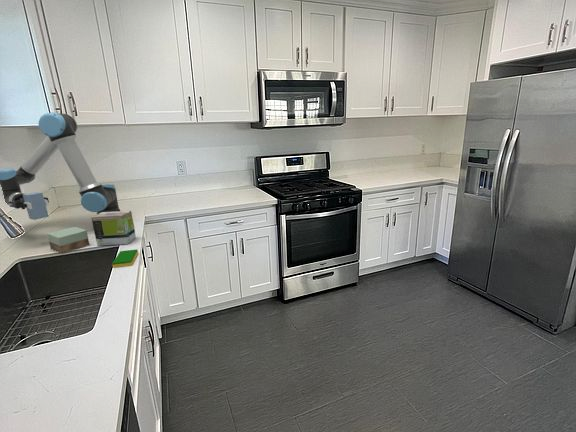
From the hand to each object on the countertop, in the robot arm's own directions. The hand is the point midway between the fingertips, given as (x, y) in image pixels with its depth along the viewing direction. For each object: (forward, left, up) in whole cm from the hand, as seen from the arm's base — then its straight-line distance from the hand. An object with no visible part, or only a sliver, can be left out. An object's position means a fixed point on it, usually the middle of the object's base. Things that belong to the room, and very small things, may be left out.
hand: (39, 204), depth 151 cm
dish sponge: (-9, +53, -21) cm, 57 cm away
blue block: (0, -5, -7) cm, 8 cm away
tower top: (-4, +12, -17) cm, 22 cm away
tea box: (-20, +26, -21) cm, 39 cm away
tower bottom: (-4, +12, -21) cm, 25 cm away
